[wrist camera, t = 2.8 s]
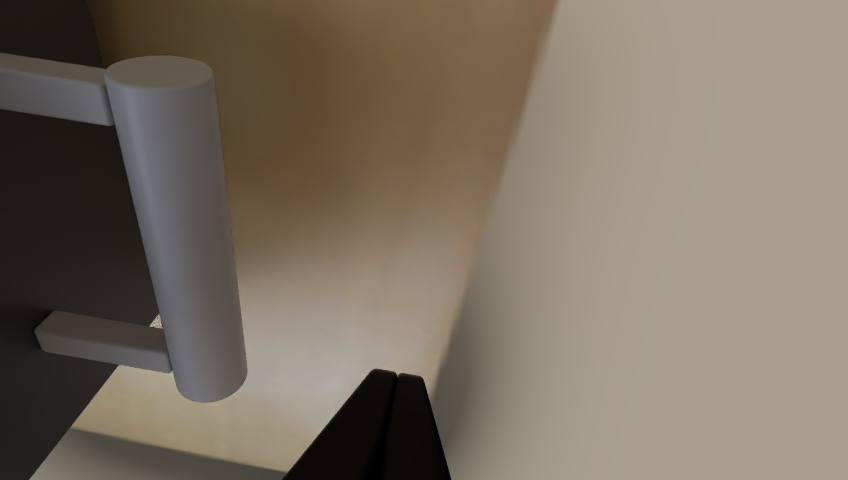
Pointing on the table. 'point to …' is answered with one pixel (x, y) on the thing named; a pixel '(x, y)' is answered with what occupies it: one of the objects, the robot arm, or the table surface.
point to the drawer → (105, 227)
